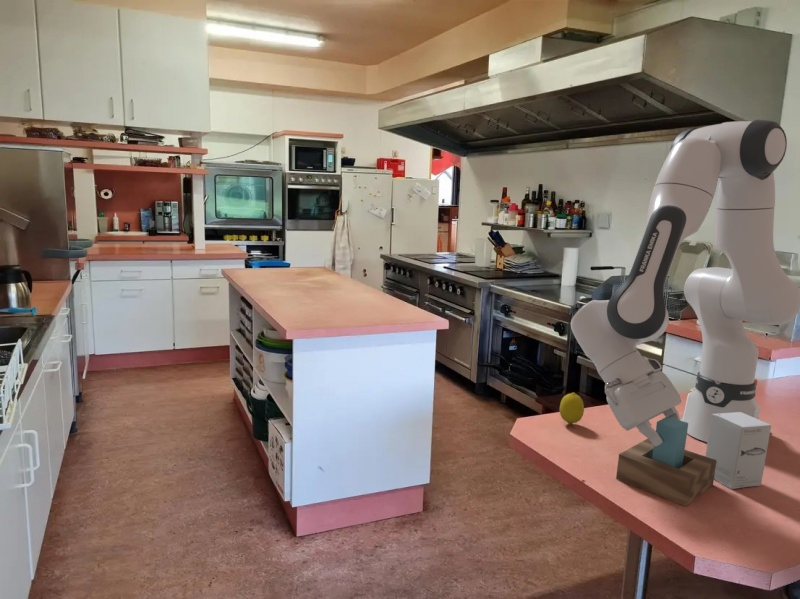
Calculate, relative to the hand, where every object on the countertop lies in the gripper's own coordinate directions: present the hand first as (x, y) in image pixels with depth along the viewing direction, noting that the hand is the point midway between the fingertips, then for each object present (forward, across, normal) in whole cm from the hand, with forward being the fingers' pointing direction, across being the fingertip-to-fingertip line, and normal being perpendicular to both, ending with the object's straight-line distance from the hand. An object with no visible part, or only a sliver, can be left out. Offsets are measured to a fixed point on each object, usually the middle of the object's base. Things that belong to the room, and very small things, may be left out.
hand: (671, 438), depth 109 cm
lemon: (-13, +11, +26) cm, 31 cm away
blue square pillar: (+6, 0, +6) cm, 8 cm away
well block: (+6, 0, +6) cm, 9 cm away
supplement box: (+12, +12, +1) cm, 17 cm away
